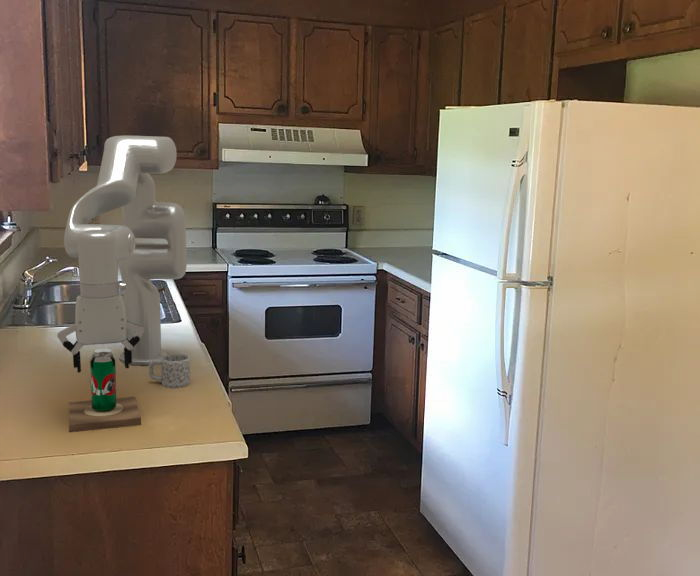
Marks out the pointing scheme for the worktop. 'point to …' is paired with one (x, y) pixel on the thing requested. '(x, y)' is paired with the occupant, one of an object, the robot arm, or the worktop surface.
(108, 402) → the soda can
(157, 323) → the robot arm
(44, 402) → the worktop surface
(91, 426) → the board
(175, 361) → the mug
